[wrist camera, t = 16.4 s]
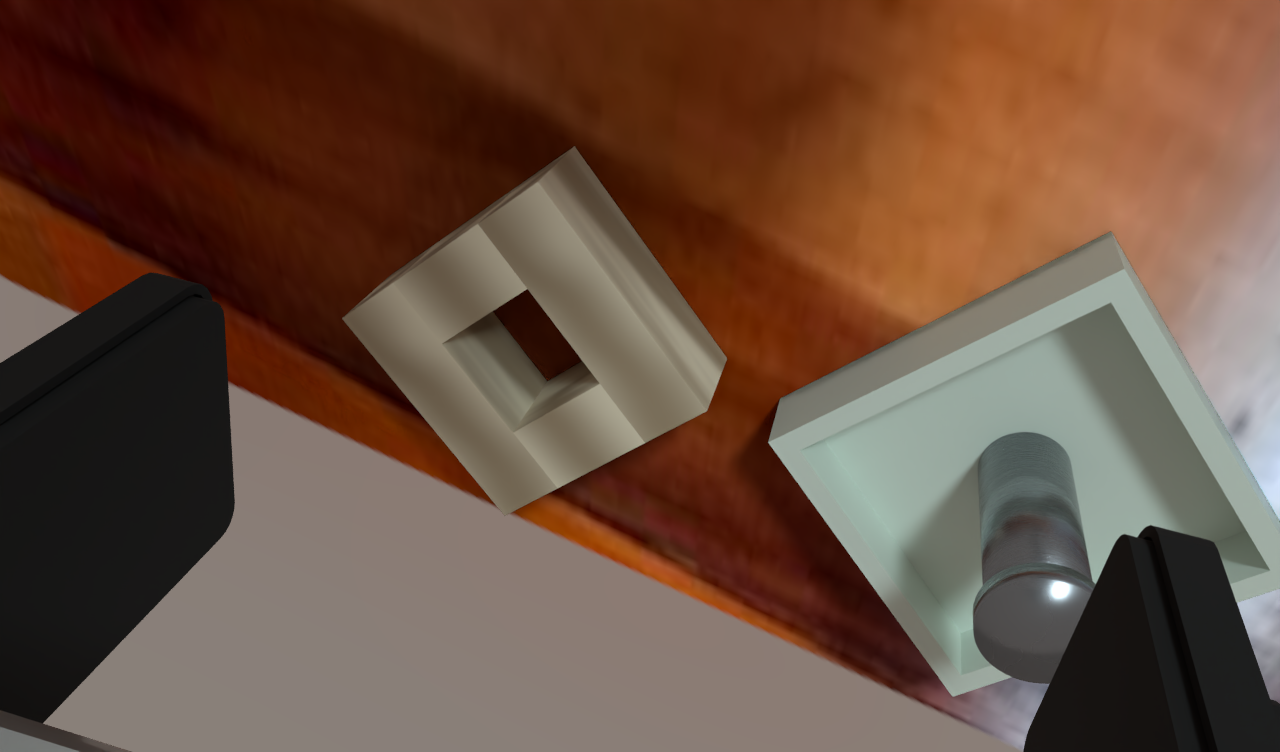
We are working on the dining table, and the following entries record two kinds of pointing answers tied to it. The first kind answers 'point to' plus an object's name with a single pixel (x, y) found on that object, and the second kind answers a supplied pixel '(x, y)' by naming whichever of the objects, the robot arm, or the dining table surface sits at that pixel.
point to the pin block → (578, 306)
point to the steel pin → (1029, 556)
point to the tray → (1009, 403)
